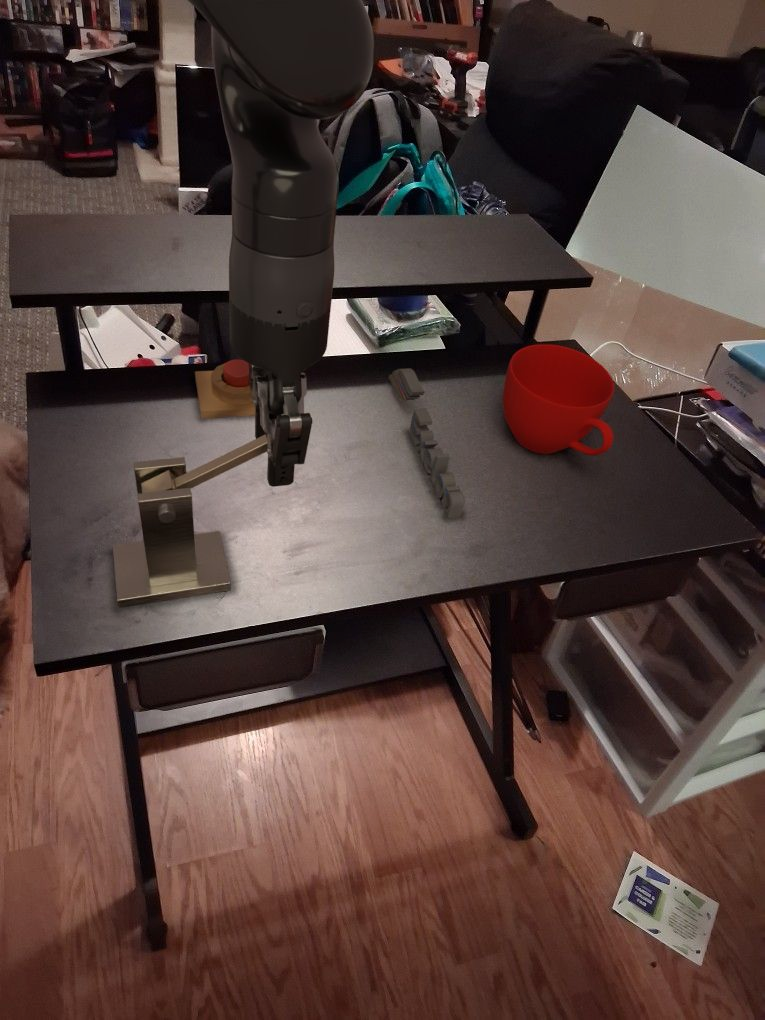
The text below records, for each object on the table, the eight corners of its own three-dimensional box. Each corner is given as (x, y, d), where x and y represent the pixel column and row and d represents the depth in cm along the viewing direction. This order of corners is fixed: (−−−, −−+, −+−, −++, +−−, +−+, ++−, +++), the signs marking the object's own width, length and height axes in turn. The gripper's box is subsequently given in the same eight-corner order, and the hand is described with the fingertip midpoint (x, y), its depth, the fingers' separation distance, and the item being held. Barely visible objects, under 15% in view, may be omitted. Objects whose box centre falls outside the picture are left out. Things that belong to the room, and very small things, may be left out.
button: (225, 389, 90) (225, 377, 88) (222, 371, 92) (221, 359, 91) (255, 387, 90) (255, 376, 89) (251, 370, 93) (251, 358, 92)
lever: (281, 425, 67) (270, 408, 65) (293, 462, 63) (282, 445, 62) (154, 488, 67) (139, 472, 66) (160, 527, 64) (144, 512, 62)
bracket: (219, 538, 76) (217, 445, 67) (231, 590, 72) (229, 499, 63) (113, 552, 73) (95, 457, 64) (118, 608, 69) (99, 515, 60)
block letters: (386, 385, 99) (392, 349, 95) (397, 384, 100) (404, 349, 96) (447, 518, 83) (458, 483, 79) (460, 517, 83) (471, 482, 79)
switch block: (201, 418, 89) (200, 398, 87) (195, 378, 94) (194, 359, 92) (282, 413, 92) (283, 394, 90) (272, 375, 97) (273, 356, 95)
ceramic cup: (546, 503, 87) (574, 439, 80) (470, 416, 97) (489, 353, 90) (626, 477, 93) (659, 415, 85) (547, 398, 102) (570, 336, 95)
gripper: (214, 245, 57) (219, 415, 69) (247, 350, 48) (246, 524, 60) (307, 244, 60) (296, 408, 72) (356, 344, 51) (334, 513, 63)
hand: (273, 460), depth 66 cm, fingers closed on lever, 5 cm apart
